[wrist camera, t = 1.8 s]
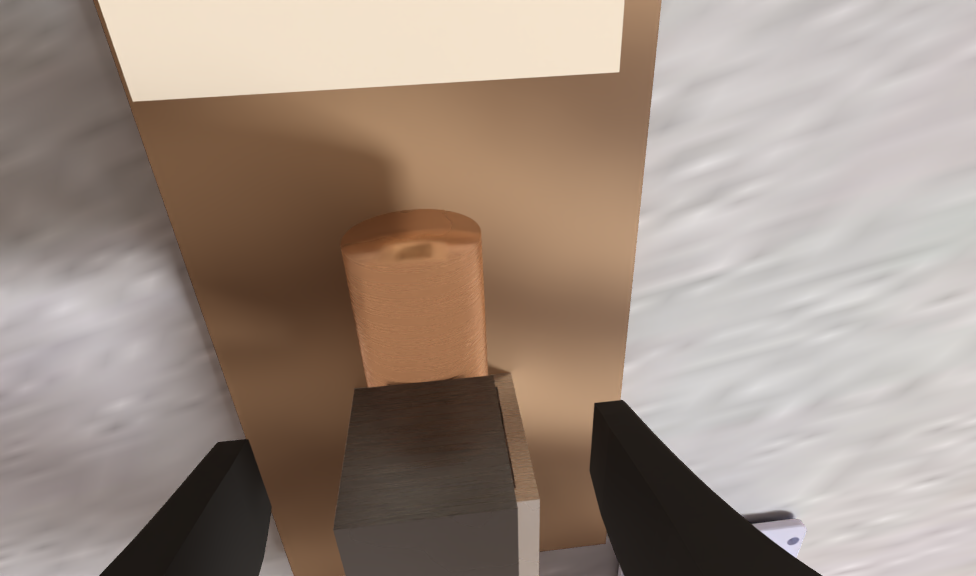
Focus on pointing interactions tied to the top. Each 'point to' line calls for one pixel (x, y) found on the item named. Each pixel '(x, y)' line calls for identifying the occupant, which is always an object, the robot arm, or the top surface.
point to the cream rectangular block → (353, 43)
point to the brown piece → (423, 407)
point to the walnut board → (404, 186)
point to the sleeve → (517, 475)
